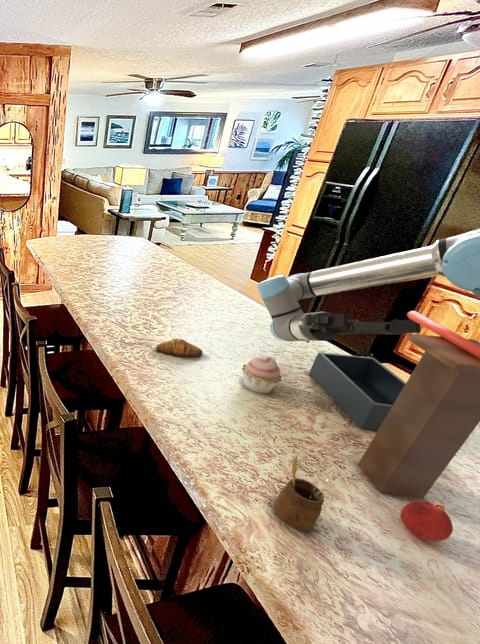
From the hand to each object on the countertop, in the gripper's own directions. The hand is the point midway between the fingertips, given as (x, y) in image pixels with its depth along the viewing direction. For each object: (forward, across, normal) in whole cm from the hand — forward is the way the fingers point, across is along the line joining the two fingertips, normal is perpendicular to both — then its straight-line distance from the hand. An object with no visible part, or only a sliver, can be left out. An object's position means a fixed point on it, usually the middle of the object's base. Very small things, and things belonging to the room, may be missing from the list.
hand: (381, 322), depth 82 cm
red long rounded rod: (+14, 0, -4) cm, 14 cm away
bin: (-20, -11, -18) cm, 30 cm away
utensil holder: (+14, +23, -38) cm, 47 cm away
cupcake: (-22, +13, -18) cm, 31 cm away
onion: (+13, +3, -38) cm, 40 cm away
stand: (+2, 0, -32) cm, 32 cm away
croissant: (-33, +30, -11) cm, 46 cm away
